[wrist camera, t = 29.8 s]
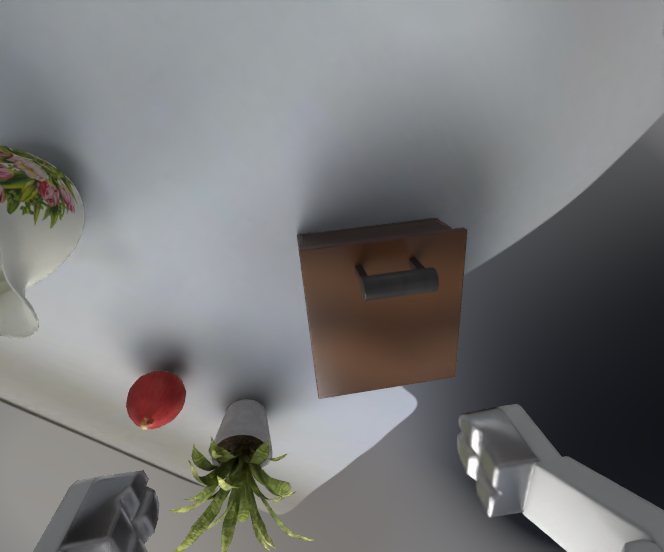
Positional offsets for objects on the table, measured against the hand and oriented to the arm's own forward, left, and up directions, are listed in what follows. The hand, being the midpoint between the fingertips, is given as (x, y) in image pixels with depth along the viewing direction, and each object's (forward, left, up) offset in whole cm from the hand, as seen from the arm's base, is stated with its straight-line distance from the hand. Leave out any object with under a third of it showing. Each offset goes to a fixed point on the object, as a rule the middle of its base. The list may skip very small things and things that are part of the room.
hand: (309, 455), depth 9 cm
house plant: (+23, +16, -30) cm, 41 cm away
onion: (+25, +4, -30) cm, 39 cm away
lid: (+1, +14, -23) cm, 27 cm away
